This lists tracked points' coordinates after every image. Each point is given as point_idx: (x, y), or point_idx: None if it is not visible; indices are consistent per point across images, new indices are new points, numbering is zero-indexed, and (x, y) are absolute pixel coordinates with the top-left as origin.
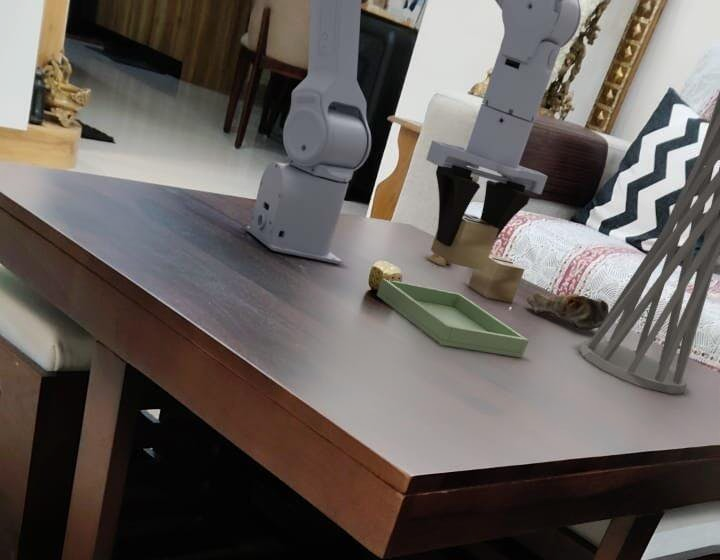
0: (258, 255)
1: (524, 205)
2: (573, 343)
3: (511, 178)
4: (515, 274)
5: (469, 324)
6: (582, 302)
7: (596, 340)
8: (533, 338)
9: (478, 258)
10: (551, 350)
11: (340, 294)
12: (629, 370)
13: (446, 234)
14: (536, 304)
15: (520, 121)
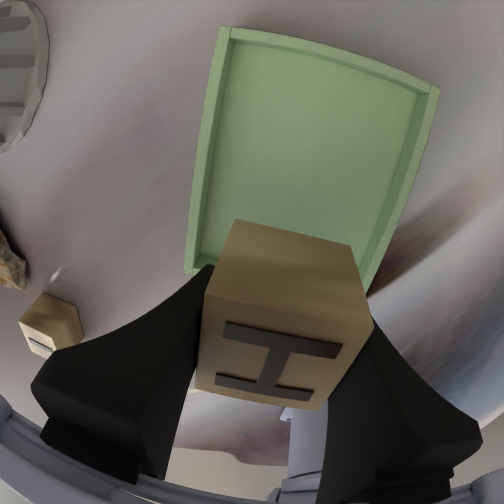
0: (424, 373)
1: (69, 349)
2: (21, 158)
3: (133, 496)
4: (31, 318)
5: (245, 169)
6: None
7: (11, 104)
8: (88, 154)
9: (267, 240)
10: (90, 101)
11: (431, 285)
12: (28, 20)
13: None
14: (20, 270)
15: None
